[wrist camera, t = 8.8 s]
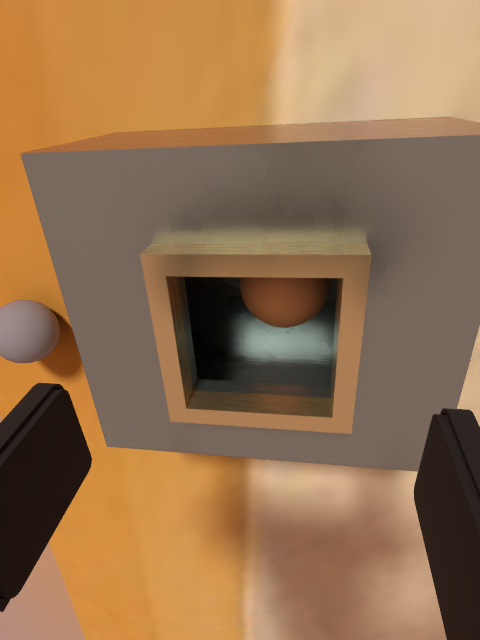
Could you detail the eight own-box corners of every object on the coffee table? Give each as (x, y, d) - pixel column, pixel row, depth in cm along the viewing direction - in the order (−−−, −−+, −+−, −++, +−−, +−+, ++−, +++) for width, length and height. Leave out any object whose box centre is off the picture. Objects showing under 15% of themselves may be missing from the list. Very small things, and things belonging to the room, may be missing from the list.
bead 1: (-34, 323, 23) (-9, 293, 26) (-9, 380, 25) (12, 345, 28) (41, 314, 23) (56, 286, 27) (60, 370, 25) (71, 337, 28)
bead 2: (310, 222, 22) (349, 249, 18) (308, 297, 24) (342, 335, 20) (228, 232, 21) (250, 262, 17) (233, 309, 23) (254, 351, 19)
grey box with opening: (448, 117, 18) (554, 136, 10) (403, 368, 25) (446, 496, 17) (116, 132, 21) (-3, 158, 13) (157, 357, 28) (96, 465, 20)
